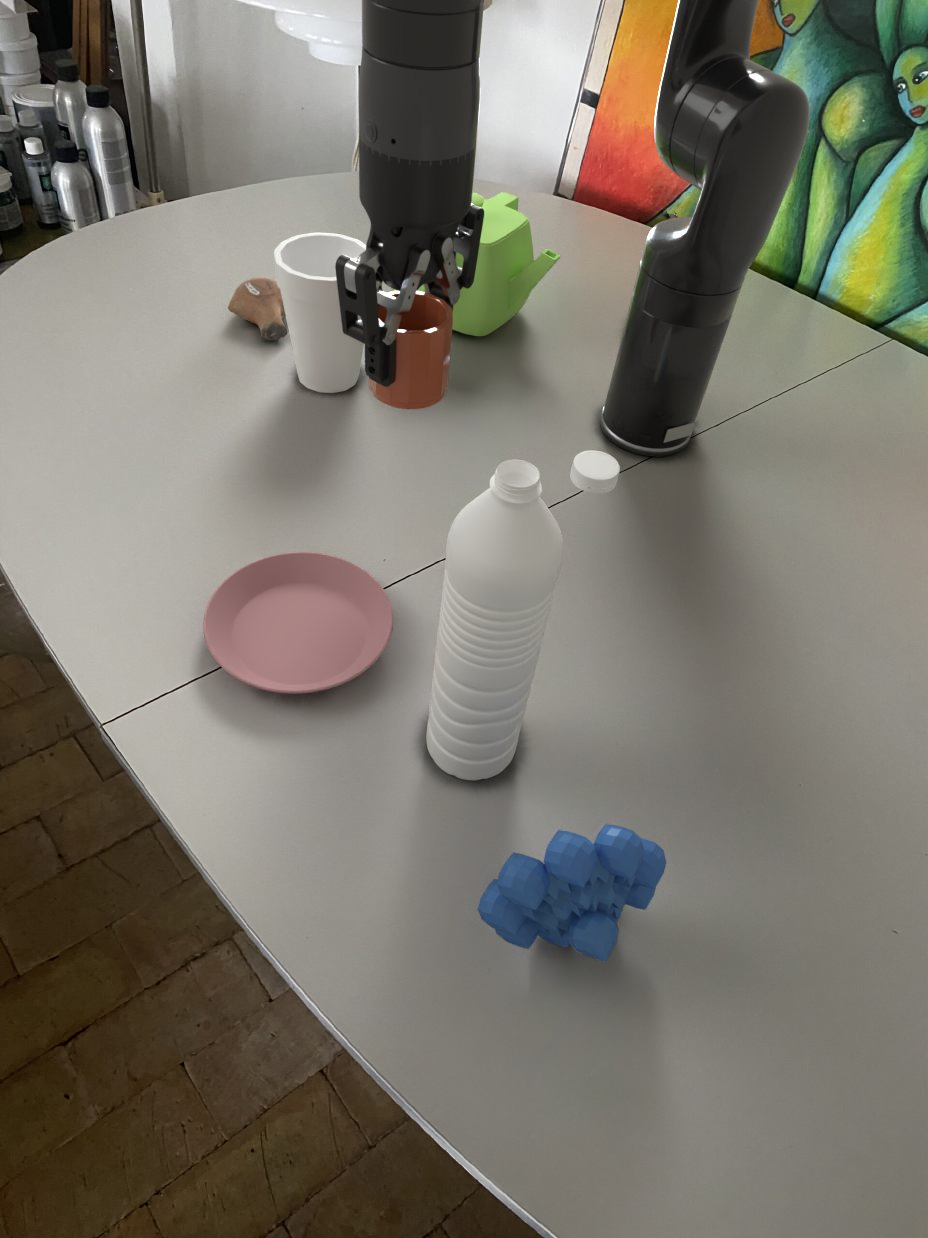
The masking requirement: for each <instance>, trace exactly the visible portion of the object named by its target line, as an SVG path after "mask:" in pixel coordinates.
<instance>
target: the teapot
mask: <svg viewBox="0 0 928 1238" xmlns="http://www.w3.org/2000/svg"><path fill="white" fill-rule="evenodd" d="M471 203H472V204H474V205H475V206H478V207H480V208H483V209H484V220H483V226H482V233H481V239H480V245H479V252H478V258H477V264H476V271H475V277H474V282H473V284H472V286H471V287H470V288H468V289H467V288H464V287H463V288H462V289H461V290H460V297H459V300H458V301H457V303H456V304H454V305H453V326H452V331H456V332H459V333H461V334H464V335H470V336H475V337H484V336H487V335H489V334H491V333H492V332H495V330H497V329H499V328H500V327H501V326H503V325H504V324H506V323H507V322H508V321H509V320H511V319H512V318H513V317H514V316H515V315H516V314H517V313H519V311H521V309H523V307H524V306H525V304H526V302H527V301H528V299H529V297H530V295H531V293H532V290H534V289H535V287H536V286H537V285H538V284H539V283H540V281H541V280H543V278H544V277H545V276H546V274H548V272H549V271H550V270H551V269H552V268H553V267H554V266H555V264H556V263H557V262H558V261H559V260H560V259H561V254H559V253H558V252H555V251H554V250H552V249H550V248H548V247H546V248H545V249H543V251H541V252H540V254H539V256H537V257H536V258H535V257H534V245H533V237H532V229H531V224H530V219H529V218H528V217H527V216H526V215H525V214H523V213H522V212H520V211H519V196H516V195H514V194H511V193H509V192H506V191H501V192H500V193H497V194H496V195H494V196H492V197H491V198H486V197H484V196H482V195H481V194H479V193H476V192H473V191H472V202H471ZM455 260H456V264H457V267H459V268H462V267H463V261H464V258H463V256H462V255H461V254H459V253H457V252H456V259H455ZM390 289H391V292H392V291H398V290H395V289H393V288H391V287H390ZM417 291H420V292H426V290H425V287H424V284H423V285H422V286H421V287H420V288H419V289H418V290H417ZM426 293H427V292H426Z"/></svg>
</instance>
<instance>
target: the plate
mask: <svg viewBox="0 0 928 1238" xmlns="http://www.w3.org/2000/svg"><path fill="white" fill-rule="evenodd" d="M393 628H394V611H393V607H392V603H391V600H390V598H389V596H388V594H387V592H386V590H385V589H384V587H383V586H382V585H381V584H380V582H379V581H378V580H377V579H376V578H375V577H374V576H373V575H372V574H371V573H370V572H368V571H367V570H365V569H364V568H362V567H361V566H359V565H357V564H355V563H353V562H351V561H349V560H346V559H344V558H342V557H338V556H335V555H331V554H327V553H321V552H312V551H294V552H293V551H292V552H283V553H279V554H274V555H270V556H266V557H261V558H260V559H257V560H254V561H252V562H250V563H248V564H246V565H244V566H243V567H240V568H239V569H237V570H236V571H234V572H233V573H232V574H230V575H229V576H227V577H226V579H224V580H223V581H222V582H221V583H220V585H218V587H217V588H216V589H215V591H214V592H213V594H212V595H211V597H210V599H209V600H208V603H207V605H206V608H205V611H204V615H203V621H202V629H203V638H204V641H205V644H206V646H207V649H208V650H209V653H210V654H211V657H212V658H213V659H214V660H215V662H216V663H217V664H218V665H219V666H220V667H221V668H222V669H223V670H224V671H225V672H226V673H227V674H229V675H230V676H232V677H233V678H234V679H236V680H238V681H240V682H242V683H244V684H246V685H248V686H251V687H253V688H256V689H259V690H262V691H266V692H272V693H277V694H289V695H291V694H293V695H295V694H298V695H299V694H309V693H317V692H321V691H322V692H323V691H325V690H329V689H332V688H336V687H339V686H341V685H344V684H345V683H348V682H350V681H352V680H354V679H356V678H358V677H359V676H360V675H362V674H363V673H365V672H366V671H367V670H368V669H369V668H371V667H372V666H373V665H374V664H375V663H376V662H377V660H379V658H380V657H381V656H382V654H383V653H384V652H385V650H386V648H387V646H388V645H389V642H390V639H391V637H392V632H393Z"/></svg>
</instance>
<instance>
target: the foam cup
mask: <svg viewBox="0 0 928 1238" xmlns="http://www.w3.org/2000/svg"><path fill="white" fill-rule="evenodd" d="M364 251H366V243H364V242H363V241H361V240H360V239H357V238H354V237H351V236H348V235H344V234H341V233H333V232H319V231H315V232H310V233H309V232H308V233H301V234H296V235H293V236H291V237H289V238H287V239H284V240H282V241H281V242H280V243H279V244H278V245H277V246H276V248H275V249H274V250H273V261H274V264H273V265H274V275H275V281H277V285H278V287H279V288H280V291H281V295H282V300H283V305H284V310H285V315H286V317H285V320H286V324H287V330H288V334H289V339H290V343H291V350H292V353H293V358H294V359H293V360H294V363H295V367H296V373H297V376H298V381H299V382H300V383H301V385H303V386H304V387H305V388H306V389H309V390H312V391H314V392H316V393H324V394H335V393H339V392H344V391H347V390H349V389H350V388H353V387H354V386H355V385H356V384H357V381H358V380H359V377H360V376H359V375H360V373H361V372H360V371H361V366H362V360H363V352H364V347H365V344H364V343H362V342H360V341H358V340H356V339H354V338H352V337H350V336H348V335H346V334H344V333H343V330H342V321H341V313H340V304H339V296H338V287H337V279H336V270H335V264H336V261H337V259H338V257H339V256H341V255H346V256H348V257H350V258H352V259H354V258H355V257H357V256H358V255H360V254H361V253H363V252H364ZM358 320H361V317H360V316H359V315H358Z"/></svg>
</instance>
